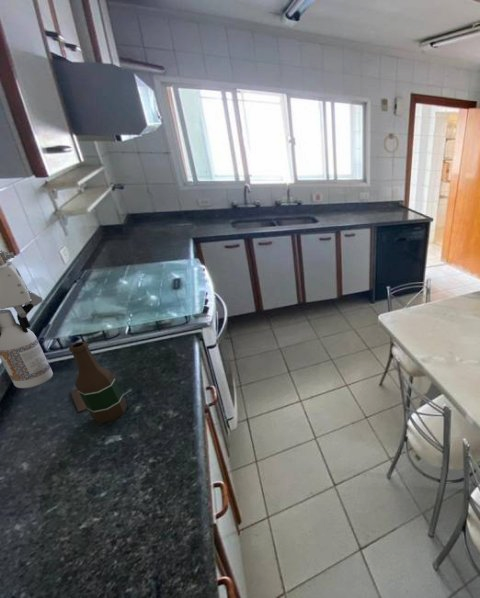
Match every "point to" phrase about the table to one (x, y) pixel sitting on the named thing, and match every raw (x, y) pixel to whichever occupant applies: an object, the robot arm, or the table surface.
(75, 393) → the brown flat square slab
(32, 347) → the bath foam
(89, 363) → the beer bottle
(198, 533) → the table surface
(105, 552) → the table surface
